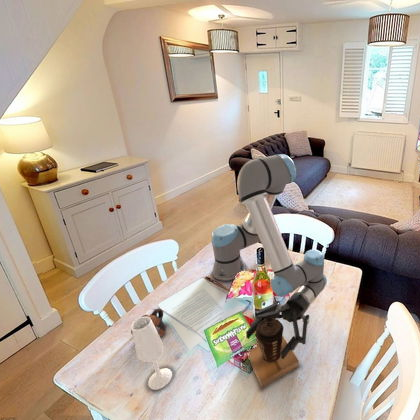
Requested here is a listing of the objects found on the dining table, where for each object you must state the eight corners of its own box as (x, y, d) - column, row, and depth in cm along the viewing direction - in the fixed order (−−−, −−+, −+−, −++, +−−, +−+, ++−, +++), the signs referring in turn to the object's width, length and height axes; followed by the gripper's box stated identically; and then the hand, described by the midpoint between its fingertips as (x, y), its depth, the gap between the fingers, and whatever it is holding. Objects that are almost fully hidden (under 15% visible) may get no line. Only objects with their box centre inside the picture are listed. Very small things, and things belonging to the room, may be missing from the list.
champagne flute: (166, 364, 88) (148, 309, 78) (176, 377, 84) (159, 322, 74) (144, 379, 83) (122, 324, 73) (153, 394, 79) (132, 338, 69)
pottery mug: (160, 345, 95) (141, 334, 90) (142, 348, 98) (123, 338, 93) (175, 313, 104) (159, 302, 99) (158, 316, 107) (142, 306, 102)
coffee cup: (271, 338, 94) (269, 311, 88) (289, 351, 90) (289, 323, 84) (252, 357, 87) (249, 328, 82) (271, 371, 83) (270, 343, 78)
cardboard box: (246, 354, 92) (245, 348, 90) (280, 337, 98) (279, 331, 97) (261, 388, 82) (261, 381, 80) (298, 366, 88) (298, 360, 87)
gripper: (330, 323, 95) (298, 373, 79) (273, 296, 106) (235, 335, 90) (331, 307, 92) (298, 356, 76) (272, 281, 103) (232, 319, 87)
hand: (264, 345), depth 83 cm, fingers open, 13 cm apart
